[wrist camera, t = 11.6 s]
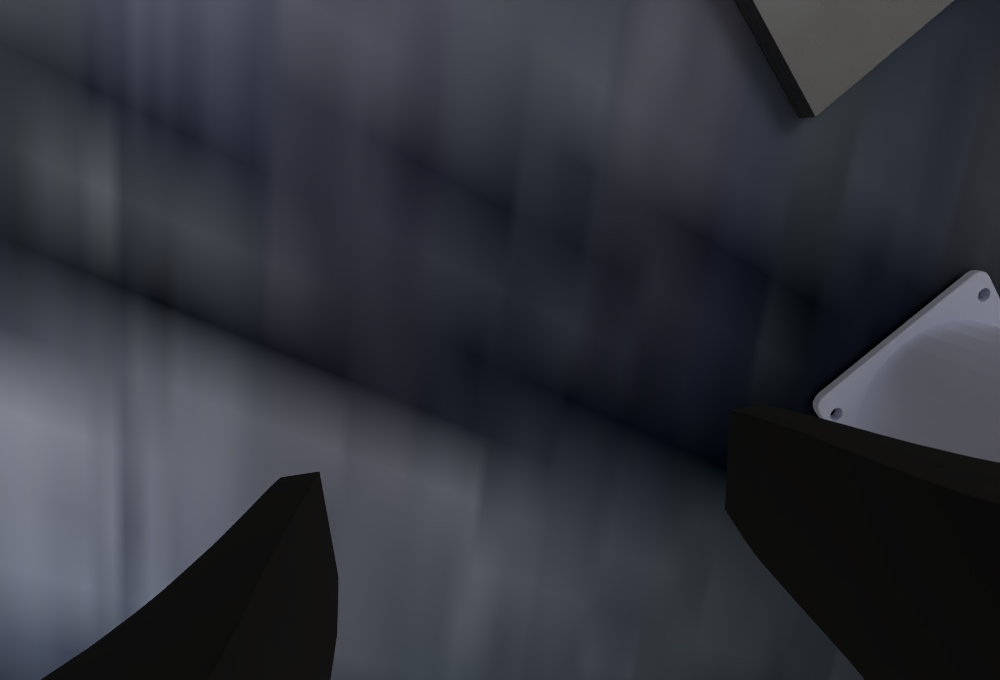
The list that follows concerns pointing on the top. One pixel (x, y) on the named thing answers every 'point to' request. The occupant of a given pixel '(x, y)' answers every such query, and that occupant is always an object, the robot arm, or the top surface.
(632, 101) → the top surface
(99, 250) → the top surface
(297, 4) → the top surface
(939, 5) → the stud plate
